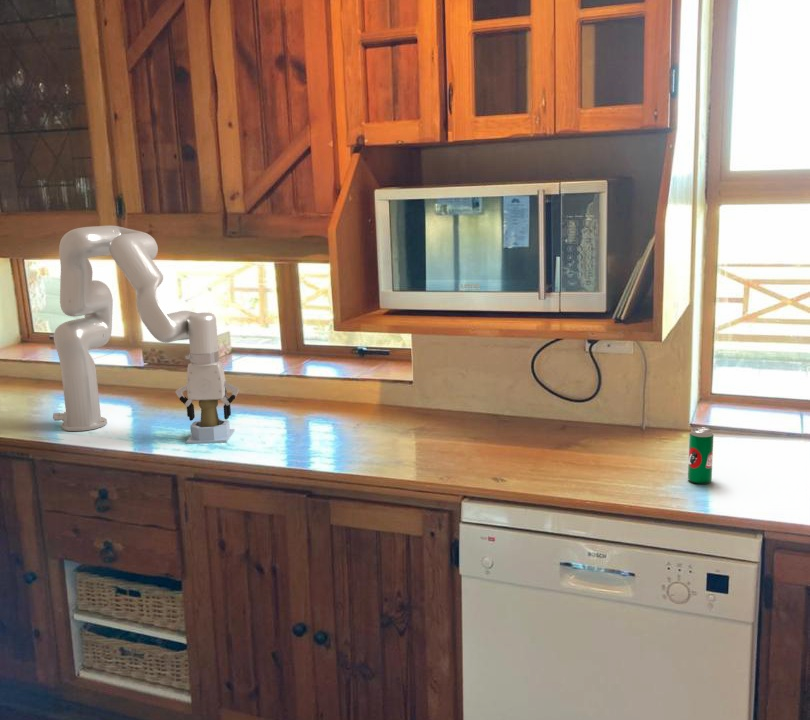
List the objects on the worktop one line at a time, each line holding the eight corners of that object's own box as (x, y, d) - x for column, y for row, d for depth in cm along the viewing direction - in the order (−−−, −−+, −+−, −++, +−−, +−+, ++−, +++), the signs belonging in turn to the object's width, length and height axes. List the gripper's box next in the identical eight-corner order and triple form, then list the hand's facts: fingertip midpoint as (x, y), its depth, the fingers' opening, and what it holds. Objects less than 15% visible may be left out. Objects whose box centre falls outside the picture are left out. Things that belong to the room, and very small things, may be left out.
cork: (224, 431, 241) (221, 393, 239) (218, 438, 235) (215, 399, 233) (203, 431, 242) (200, 394, 239) (196, 438, 236) (193, 399, 234)
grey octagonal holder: (186, 443, 233) (185, 429, 232) (195, 432, 244) (194, 418, 243) (226, 442, 233) (225, 428, 232) (234, 431, 244) (233, 417, 243)
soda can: (711, 486, 189) (713, 433, 187) (686, 483, 191) (688, 431, 188) (711, 478, 194) (714, 427, 191) (688, 476, 195) (690, 425, 193)
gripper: (169, 362, 230) (174, 423, 234) (233, 360, 230) (238, 421, 234) (176, 356, 238) (181, 416, 241) (239, 354, 238) (243, 414, 241)
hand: (209, 418), depth 237 cm, fingers open, 9 cm apart
